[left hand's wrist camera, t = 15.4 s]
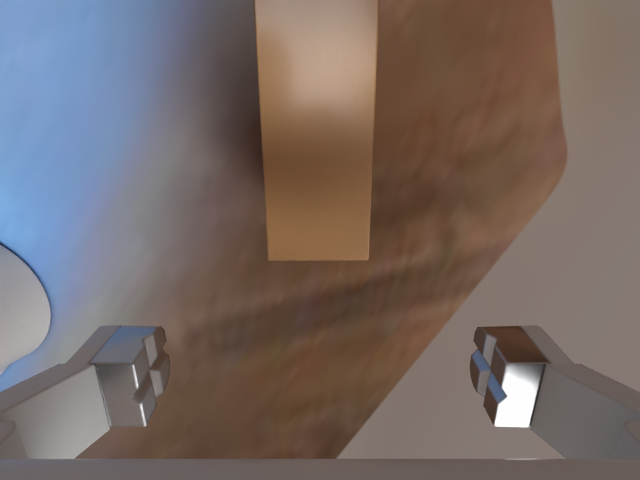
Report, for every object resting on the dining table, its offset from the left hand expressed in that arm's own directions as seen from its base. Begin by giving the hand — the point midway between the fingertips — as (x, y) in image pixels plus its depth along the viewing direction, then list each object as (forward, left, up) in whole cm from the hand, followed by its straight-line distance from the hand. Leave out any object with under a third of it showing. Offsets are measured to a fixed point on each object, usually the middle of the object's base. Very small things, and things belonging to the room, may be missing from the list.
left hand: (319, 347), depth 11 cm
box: (-2, +9, -26) cm, 28 cm away
